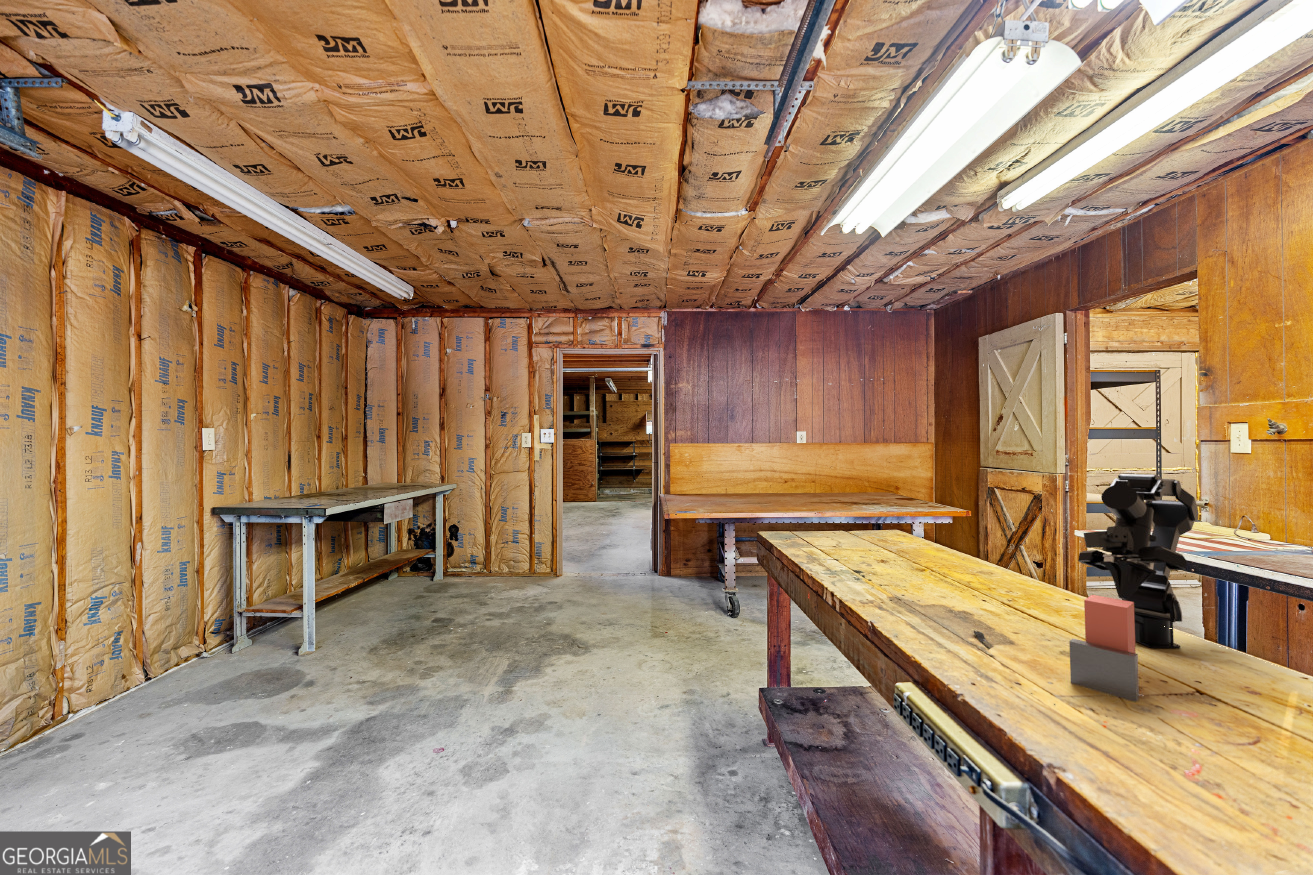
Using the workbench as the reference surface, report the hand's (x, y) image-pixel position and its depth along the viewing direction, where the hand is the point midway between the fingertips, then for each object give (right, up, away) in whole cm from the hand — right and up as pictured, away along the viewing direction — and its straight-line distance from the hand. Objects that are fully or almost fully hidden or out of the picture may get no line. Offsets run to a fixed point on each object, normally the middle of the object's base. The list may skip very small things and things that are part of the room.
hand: (1122, 598), depth 105 cm
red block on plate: (-12, -12, -11) cm, 20 cm away
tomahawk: (-21, -14, +7) cm, 26 cm away
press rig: (-11, -13, -10) cm, 20 cm away
